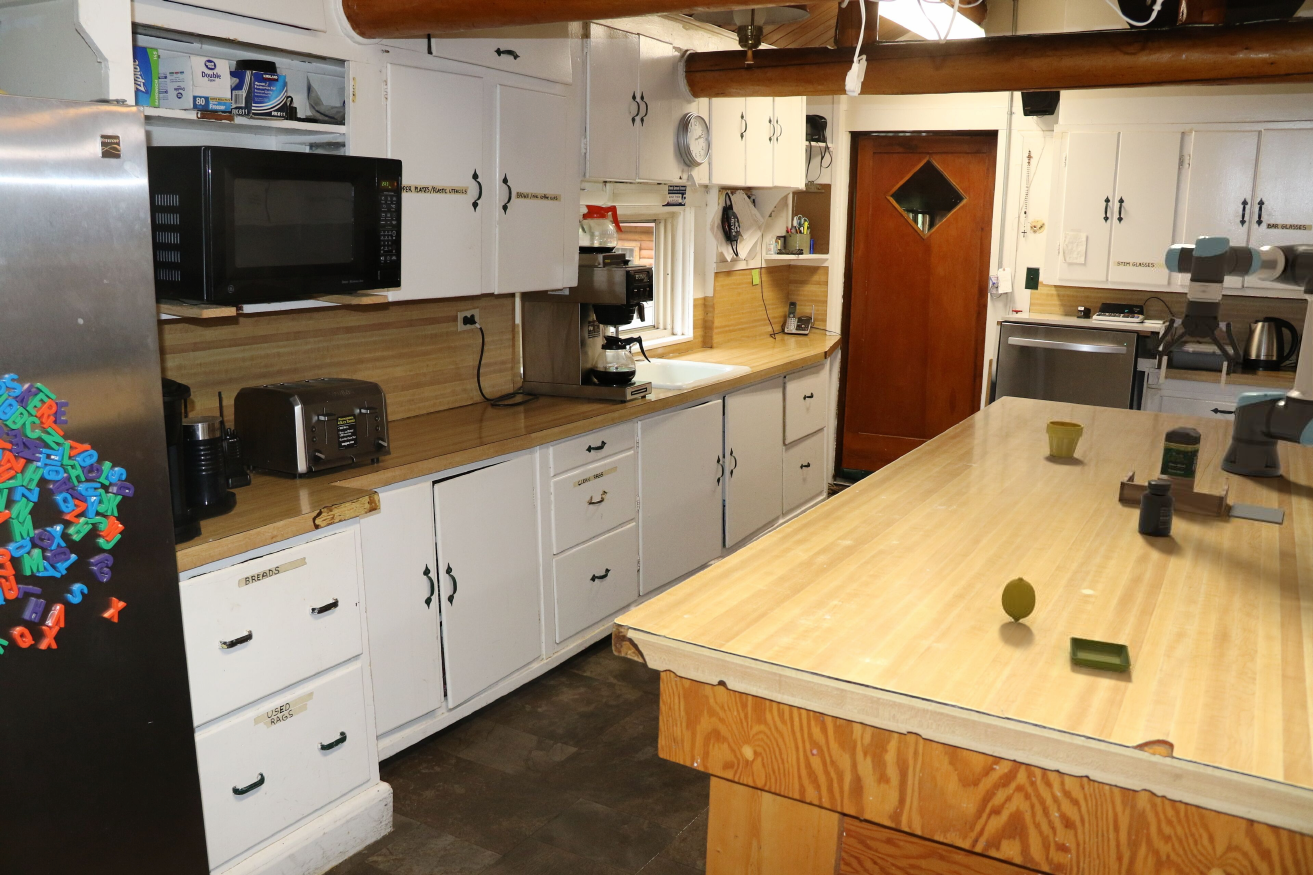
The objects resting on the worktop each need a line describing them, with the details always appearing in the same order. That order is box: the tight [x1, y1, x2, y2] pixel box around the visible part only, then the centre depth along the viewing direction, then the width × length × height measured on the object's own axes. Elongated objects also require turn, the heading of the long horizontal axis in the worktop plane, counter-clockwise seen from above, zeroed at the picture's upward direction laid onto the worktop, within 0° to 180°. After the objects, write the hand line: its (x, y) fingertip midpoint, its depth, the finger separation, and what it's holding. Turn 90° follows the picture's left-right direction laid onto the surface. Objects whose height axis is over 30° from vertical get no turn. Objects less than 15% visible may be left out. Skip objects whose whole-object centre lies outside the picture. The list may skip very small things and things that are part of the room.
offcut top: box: [1156, 474, 1196, 491], centre depth 255 cm, size 4×8×2 cm, turn 57°
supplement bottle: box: [1137, 479, 1175, 538], centre depth 231 cm, size 7×7×12 cm
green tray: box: [1069, 636, 1132, 673], centre depth 162 cm, size 9×9×2 cm
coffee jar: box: [1159, 425, 1202, 480], centre depth 261 cm, size 10×8×19 cm
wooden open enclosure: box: [1118, 469, 1230, 518], centre depth 259 cm, size 16×23×5 cm
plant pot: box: [1045, 420, 1084, 459], centre depth 309 cm, size 10×10×10 cm
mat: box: [1228, 501, 1285, 525], centre depth 251 cm, size 14×11×1 cm
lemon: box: [1001, 576, 1037, 622], centre depth 177 cm, size 6×6×8 cm
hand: (1191, 385), depth 257 cm, fingers open, 13 cm apart
